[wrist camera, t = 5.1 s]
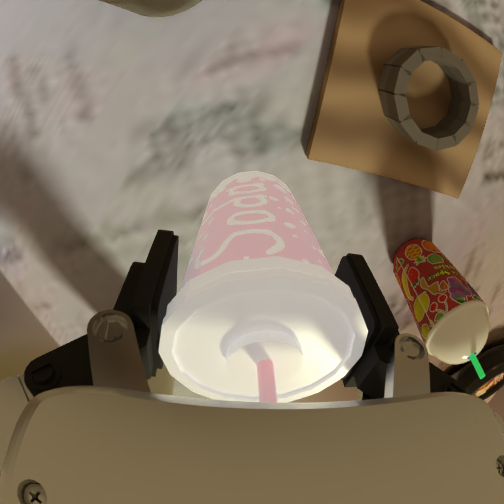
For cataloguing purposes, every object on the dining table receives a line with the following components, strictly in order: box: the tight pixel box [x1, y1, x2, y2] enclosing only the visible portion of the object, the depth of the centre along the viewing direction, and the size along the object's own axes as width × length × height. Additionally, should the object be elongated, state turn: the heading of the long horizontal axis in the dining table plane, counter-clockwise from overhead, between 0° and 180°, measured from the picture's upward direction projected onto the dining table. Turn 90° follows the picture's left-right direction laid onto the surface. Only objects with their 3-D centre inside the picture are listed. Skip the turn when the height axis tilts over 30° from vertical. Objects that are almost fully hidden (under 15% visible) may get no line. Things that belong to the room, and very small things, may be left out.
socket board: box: [305, 0, 502, 198], centre depth 24 cm, size 20×20×5 cm
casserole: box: [450, 344, 504, 400], centre depth 55 cm, size 25×19×8 cm
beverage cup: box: [158, 171, 368, 403], centre depth 10 cm, size 6×6×14 cm
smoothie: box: [393, 238, 489, 379], centre depth 30 cm, size 8×8×20 cm
